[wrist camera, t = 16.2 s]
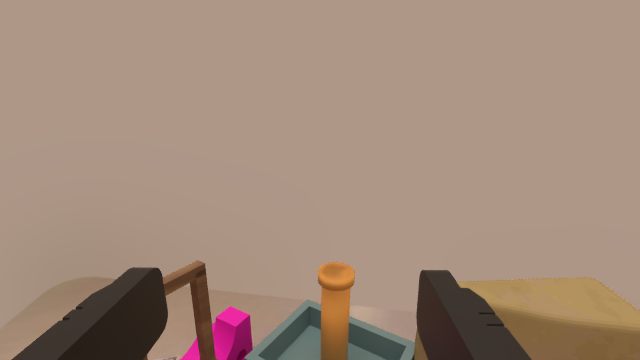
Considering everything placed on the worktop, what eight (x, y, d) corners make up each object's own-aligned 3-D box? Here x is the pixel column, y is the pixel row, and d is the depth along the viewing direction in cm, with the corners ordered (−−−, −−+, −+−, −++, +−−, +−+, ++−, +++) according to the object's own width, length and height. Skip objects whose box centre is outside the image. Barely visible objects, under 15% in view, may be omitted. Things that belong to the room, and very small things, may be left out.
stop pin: (310, 377, 40) (311, 274, 36) (327, 354, 44) (329, 259, 40) (340, 394, 38) (343, 286, 34) (355, 368, 42) (360, 268, 38)
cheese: (420, 424, 35) (430, 311, 32) (406, 356, 45) (412, 263, 41) (633, 446, 33) (670, 326, 29) (571, 369, 42) (594, 271, 39)
